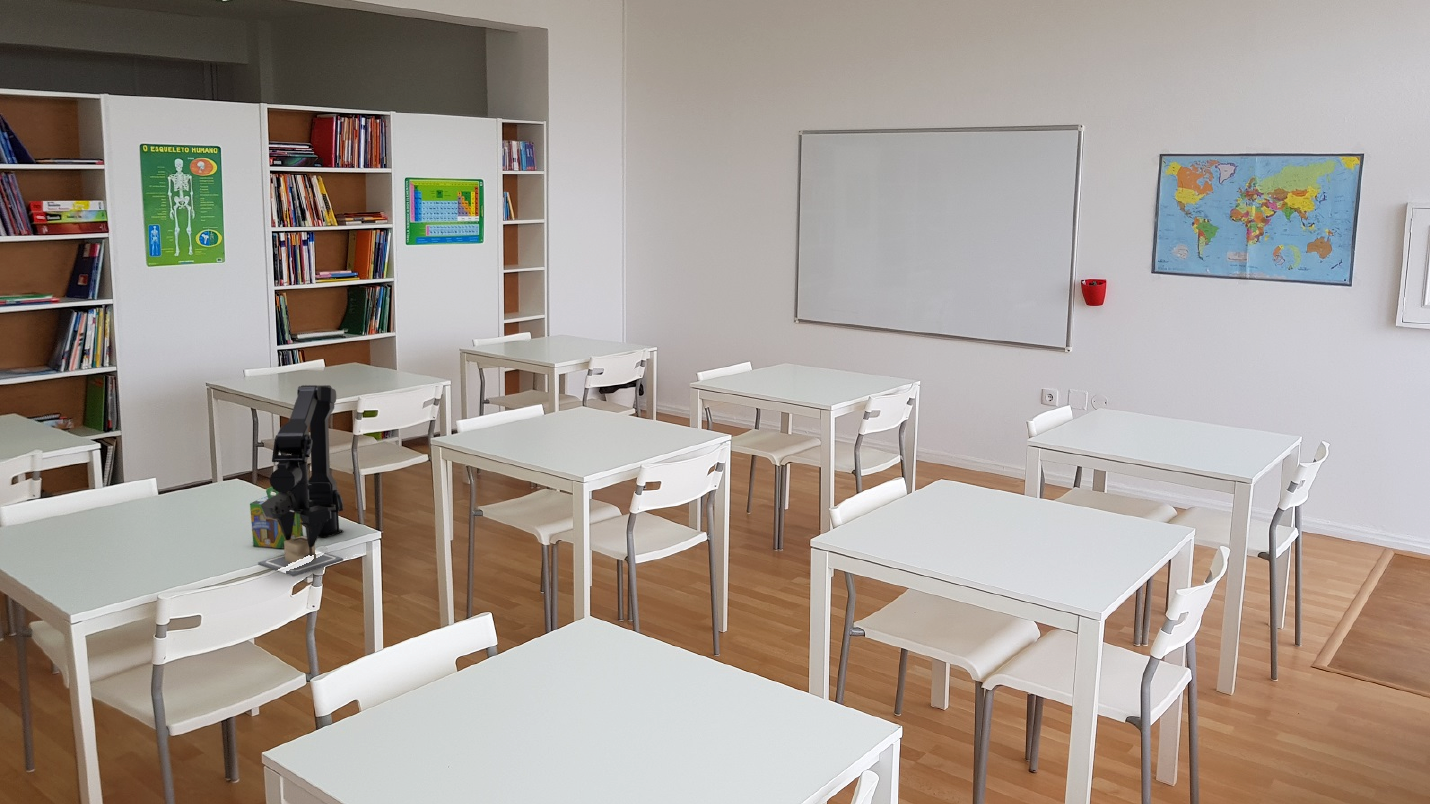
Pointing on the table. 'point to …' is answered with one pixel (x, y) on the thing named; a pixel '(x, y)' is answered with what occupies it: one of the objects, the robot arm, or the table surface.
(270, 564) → the slate pad
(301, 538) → the letter cube
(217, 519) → the table surface
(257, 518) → the chalk box
